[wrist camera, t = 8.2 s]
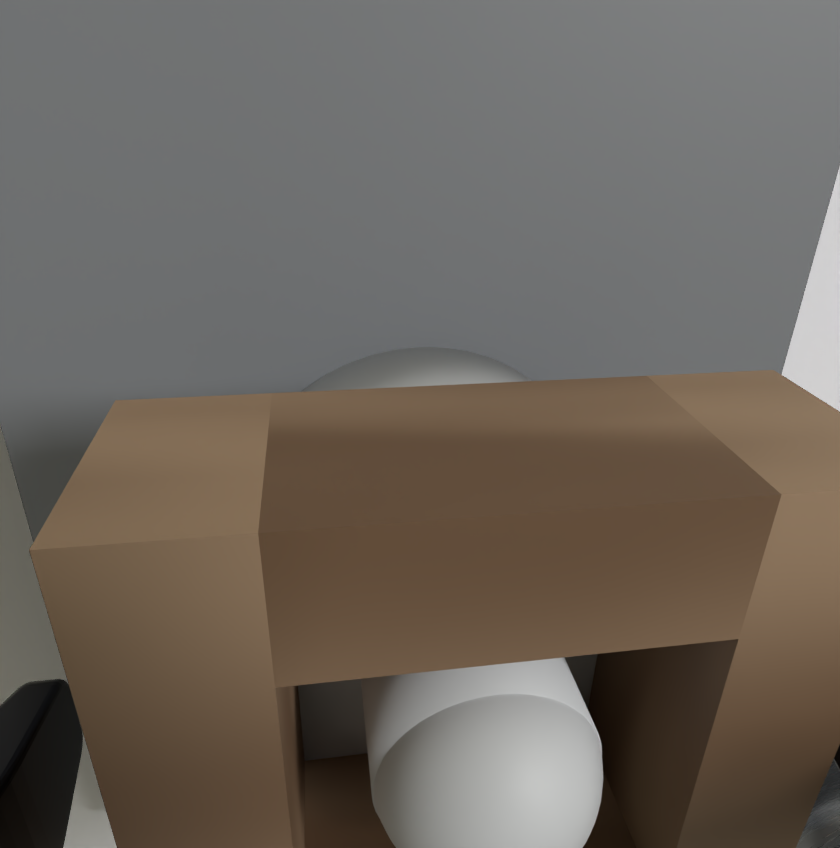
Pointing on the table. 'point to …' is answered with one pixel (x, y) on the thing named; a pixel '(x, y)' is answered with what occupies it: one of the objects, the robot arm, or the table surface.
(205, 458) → the wooden square frame
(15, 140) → the board
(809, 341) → the table surface
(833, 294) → the table surface
